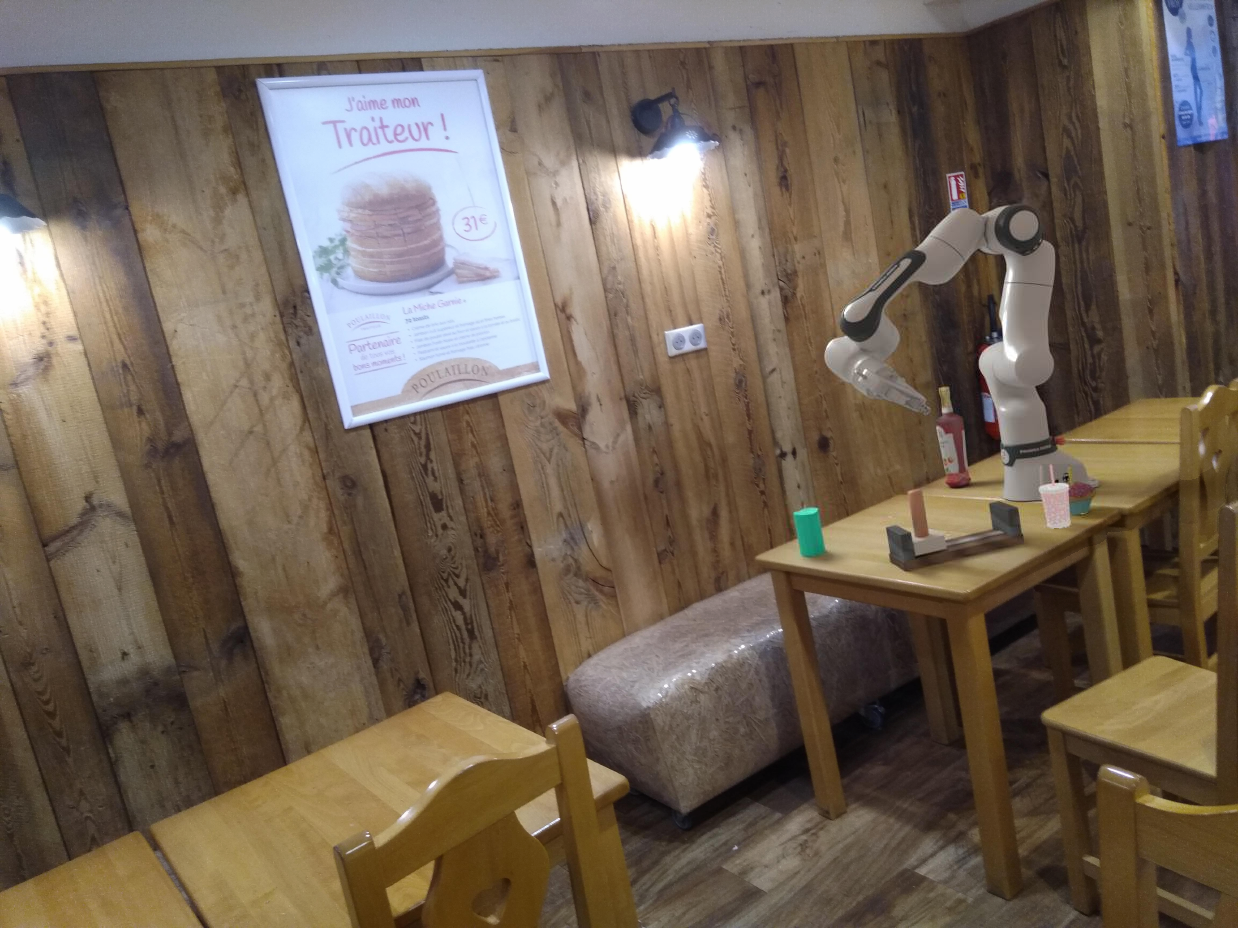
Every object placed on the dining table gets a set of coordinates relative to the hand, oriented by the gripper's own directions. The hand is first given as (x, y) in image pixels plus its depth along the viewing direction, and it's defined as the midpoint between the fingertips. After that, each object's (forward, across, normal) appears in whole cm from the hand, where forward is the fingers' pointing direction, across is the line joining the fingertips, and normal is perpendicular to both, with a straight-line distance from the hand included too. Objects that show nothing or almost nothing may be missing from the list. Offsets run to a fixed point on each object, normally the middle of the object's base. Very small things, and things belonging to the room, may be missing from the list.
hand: (917, 407), depth 207 cm
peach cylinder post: (+23, -3, +24) cm, 33 cm away
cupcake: (+31, +31, +3) cm, 44 cm away
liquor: (-8, +52, +17) cm, 56 cm away
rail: (+27, +3, +22) cm, 34 cm away
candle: (-1, -1, +43) cm, 43 cm away
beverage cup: (+33, +22, +7) cm, 40 cm away
